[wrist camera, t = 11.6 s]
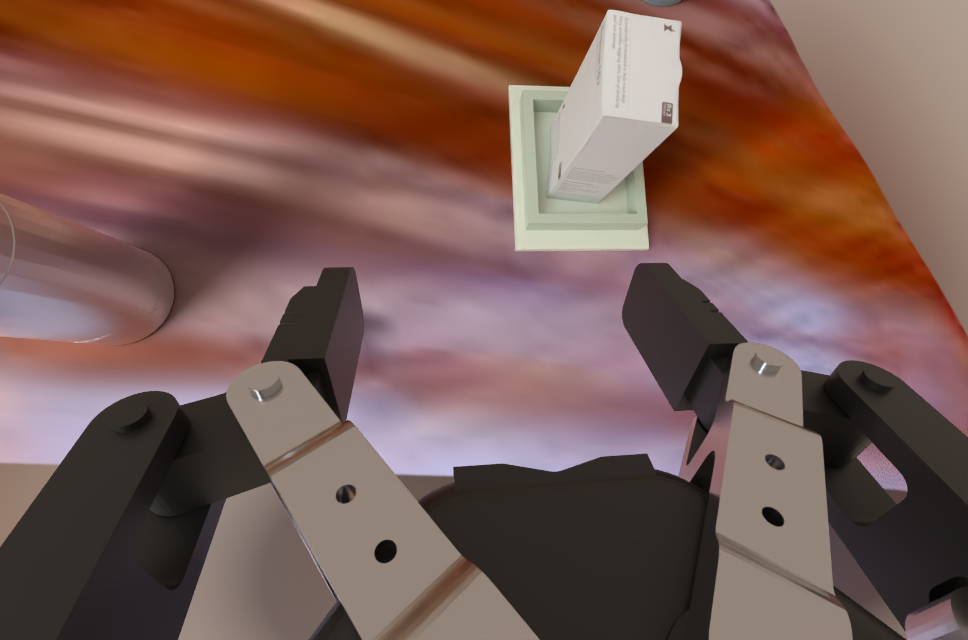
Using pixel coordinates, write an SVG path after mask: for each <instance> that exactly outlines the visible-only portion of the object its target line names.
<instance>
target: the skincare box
mask: <svg viewBox="0 0 968 640" xmlns="http://www.w3.org/2000/svg"><path fill="white" fill-rule="evenodd" d="M681 29H682V23H681V21H676V20H668V19H663V18H657V17H650V16H643V15H637V14H632V13H627V12H623V11H617V10H608V11H607V14H606V16H605V18H604V20H603V22H602V24H601V26H600V28H599V30H598V32H597V34H596V36H595V38H594V40H593V42H592V45H591V47H590V49H589V51H588V53H587V55H586V57H585V59H584V61H583V63H582V65H581V67H580V69H579V71H578V73H577V75H576V77H575V79H574V81H573V83H572V85H571V87H570V89H569V91H568V93H567V95H566V97H565V99H564V101H563V103H562V105H561V107H560V109H559V111H558V113H557V115H556V117H555V119H554V121H553V123H552V125H551V128H550V137H551V140H550V164H549V176H548V186H547V194H546V197H547V198H553V199H561V200H570V201H578V202H586V203H595V204H598V203H599V202H600V201H601V200H602V199H603V198H604V197H606V196H607V195H608V194H609V193H610V192H611V191H612V190H613V189H614V188H615V187H616V186H617V185H618V184H619V183H620V182H621V181H622V180H623V179H624V178H625V177H626V176H627V175H628V174H629V173H630V172H632V171H633V170H634V169H635V168H636V167H637V166H638V165H639V164H640V163H641V162H642V161H643V160H644V159H645V158H646V157H647V156H648V155H649V154H650V153H651V152H652V151H653V150H654V149H656V148H657V147H658V146H659V145H660V144H661V143H662V142H663V141H664V140H665V139H666V138H667V137H668V136H669V135H670V134H671V133H672V132H673V131H674V130H676V129H677V128H678V126H679V123H678V101H679V85H680V82H681V79H682V65H681V62H680V58H679V55H680V37H681Z"/></svg>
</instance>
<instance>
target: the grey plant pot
mask: <svg viewBox="0 0 968 640" xmlns="http://www.w3.org/2000/svg"><path fill="white" fill-rule="evenodd" d="M642 1H644V2H646V3H648V4H650V5H653V6H661V7H665V6H667V7H669V6H671V5H675V4H676V3H679V2H680V1H682V0H642Z"/></svg>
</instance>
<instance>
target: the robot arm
mask: <svg viewBox="0 0 968 640" xmlns="http://www.w3.org/2000/svg"><path fill="white" fill-rule="evenodd" d="M173 299H174V284H173V280H172V277H171V274H170V272H169V271H168V269H167V267H166V266H165V265H164V264H163V263H162V261H161V260H160V259H159V258H157V257H156V256H154V255H153V254H151V253H149V252H147V251H144V250H142V249H139V248H137V247H134V246H132V245H129V244H127V243H124V242H122V241H119V240H117V239H115V238H112V237H110V236H107V235H105V234H102V233H100V232H97V231H95V230H92V229H90V228H87V227H85V226H82V225H80V224H77V223H74V222H72V221H69V220H67V219H64V218H62V217H59V216H57V215H54V214H52V213H49V212H47V211H44V210H42V209H39V208H37V207H34V206H32V205H29V204H26V203H24V202H21V201H19V200H16V199H14V198H11V197H9V196H6V195H4V194H1V193H0V336H3V337H16V338H29V339H42V340H54V341H67V342H78V343H91V344H104V345H124V344H129V343H134V342H136V341H139V340H141V339H143V338H145V337H147V336H148V335H150V334H151V333H153V332H154V331H155V330H156V329H157V328H158V327H159V326H160V325H161V324H162V323H163V322H164V320H165V319H166V318H167V316H168V315H169V312H170V310H171V307H172V305H173ZM718 311H719V310H718V309H717V308H716V307H715V306H714V304H713V303H710V300H709V299H708V298H707V297H706V296H705V295H704V294H703V293H702V291H701V290H700V289H698V288H697V287H695V286H693V285H692V284H690V283H689V282H687V281H685V280H684V279H681V277H680V276H679V275H678V274H677V273H676V272H675V271H674V270H673V269H672V267H671V266H670V265H669V264H667V263H641V264H639V265H638V266H637V267H636V269H635V271H634V274H633V277H632V280H631V283H630V286H629V289H628V293H627V296H626V299H625V302H624V305H623V310H622V319H623V324H624V326H625V328H626V330H627V332H628V333H629V335H630V337H631V339H632V340H633V342H634V344H635V345H636V347H637V349H638V350H639V352H640V354H641V356H642V357H643V359H644V361H645V362H646V364H647V366H648V367H649V369H650V371H651V373H652V374H653V376H654V378H655V379H656V381H657V383H658V384H659V386H660V388H661V389H662V391H663V393H664V395H665V396H666V398H667V400H668V401H669V403H670V405H671V406H672V408H673V410H674V411H685V410H694V412H695V413H696V416H695V418H694V420H693V421H692V424H691V427H690V431H689V435H688V440H687V444H686V448H685V452H684V456H683V460H682V464H681V468H680V472H679V476H675V475H673V474H670V473H667V472H663V471H660V470H655V469H654V467H653V465H652V463H651V461H650V459H649V457H648V455H647V454H636V455H621V456H607V457H600V458H597V459H594V460H591V461H588V462H585V463H582V464H579V465H576V466H574V467H571V468H568V469H565V470H562V471H558V472H550V471H544V470H538V469H532V468H526V467H520V466H514V465H508V464H491V465H477V466H462V467H453V470H454V482H453V483H450V484H447V485H445V486H442V487H440V488H438V489H436V490H434V491H432V492H430V493H429V494H427V495H425V496H424V497H422V498H421V499H420V500H418V501H416V499H415V498H414V497H413V496H412V494H411V493H410V492H409V491H408V489H407V488H406V487H405V486H404V485H403V483H402V482H401V481H400V480H399V478H398V477H397V476H396V475H395V474H394V472H393V471H392V470H391V469H390V467H389V466H388V465H387V464H386V463H385V461H384V460H383V459H382V458H381V456H380V455H379V454H378V453H377V452H376V450H375V449H374V448H373V447H372V445H371V444H370V443H369V442H368V440H367V439H366V438H365V437H364V436H363V434H362V433H361V432H360V431H359V429H358V428H357V427H356V426H355V425H354V424H353V423H352V422H351V421H349V420H347V421H346V418H347V413H348V408H349V403H350V398H351V393H352V388H353V383H354V378H355V373H356V368H357V363H358V358H359V353H360V348H361V343H362V338H363V332H364V319H363V311H362V305H361V300H360V294H359V288H358V283H357V277H356V273H355V270H354V268H353V267H339V268H324V269H323V271H322V273H321V276H320V278H319V281H318V283H317V286H307V287H303V288H302V289H301V290H300V291H299V292H298V293H296V294H295V295H294V296H293V297H292V298H291V299H290V301H289V304H288V306H287V308H286V310H285V314H283V317H282V319H281V321H280V325H278V327H277V330H276V332H275V334H274V336H273V338H272V340H271V342H270V345H269V347H268V349H267V351H266V353H265V355H264V358H263V360H262V362H261V364H258V365H255V366H253V367H251V368H249V369H247V370H245V371H244V372H242V373H241V374H239V375H238V376H237V377H236V378H235V379H234V380H233V381H232V383H231V384H230V385H229V387H228V390H227V392H226V393H224V394H220V395H217V396H214V397H210V398H206V399H203V400H199V401H195V402H192V403H188V404H184V405H181V406H180V405H179V403H178V402H177V400H176V399H175V398H174V397H173V396H172V395H171V394H169V393H166V392H161V391H149V392H142V393H138V394H135V395H132V396H129V397H126V398H124V399H121V400H119V401H117V402H116V403H114V404H112V405H110V406H109V407H107V408H106V409H104V410H103V411H102V412H100V413H99V414H98V415H97V416H96V417H95V418H94V419H93V420H92V421H91V422H90V424H89V425H88V426H87V428H86V429H85V430H84V432H83V433H82V435H81V436H80V437H79V439H78V440H77V442H76V443H75V444H74V446H73V447H72V449H71V450H70V451H69V453H68V454H67V455H66V457H65V458H64V460H63V461H62V462H61V464H60V465H59V467H58V468H57V469H56V471H55V472H54V473H53V475H52V476H51V478H50V479H49V481H48V482H47V483H46V485H45V486H44V487H43V489H42V490H41V492H40V493H39V494H38V496H37V497H36V499H35V500H34V501H33V503H32V504H31V505H30V507H29V508H28V510H27V511H26V512H25V514H24V515H23V516H22V518H21V519H20V521H19V522H18V523H17V525H16V526H15V528H14V529H13V530H12V532H11V533H10V534H9V536H8V537H7V539H6V540H5V541H4V543H3V544H2V546H1V547H0V640H178V638H179V635H180V632H181V629H182V626H183V623H184V620H185V617H186V614H187V611H188V609H189V606H190V603H191V600H192V597H193V594H194V591H195V588H196V585H197V582H198V579H199V576H200V574H201V571H202V568H203V565H204V562H205V559H206V556H207V553H208V550H209V547H210V544H211V541H212V538H213V535H214V532H215V530H216V527H217V524H218V521H219V518H220V515H221V512H222V509H223V506H224V503H225V500H226V498H228V497H231V496H234V495H237V494H240V493H242V492H245V491H248V490H251V489H254V488H256V487H259V486H262V485H265V484H267V483H271V484H272V486H273V488H274V490H275V492H276V493H277V495H278V497H279V499H280V501H281V502H282V504H283V506H284V508H285V510H286V511H287V513H288V515H289V516H290V518H291V520H292V522H293V524H294V526H295V527H296V529H297V531H298V533H299V535H300V536H301V538H302V540H303V542H304V543H305V545H306V547H307V549H308V551H309V553H310V554H311V556H312V558H313V560H314V562H315V564H316V565H317V567H318V569H319V571H320V573H321V575H322V576H323V578H324V580H325V582H326V584H327V585H328V587H329V589H330V591H331V592H332V594H333V596H334V598H335V600H336V601H337V602H336V604H335V605H334V606H333V607H332V609H331V610H330V611H329V613H328V614H327V616H326V617H325V618H324V619H323V621H322V622H321V624H320V625H319V626H318V627H317V629H316V630H315V631H314V633H313V634H312V635H311V637H310V638H309V640H906V639H905V638H903V637H902V636H901V635H899V634H898V633H897V632H895V631H894V630H893V629H891V628H890V627H888V626H887V625H886V624H885V623H883V622H882V621H880V620H879V619H878V618H876V617H875V616H874V615H872V614H871V613H870V612H868V611H867V610H866V609H864V608H863V607H862V606H860V605H859V604H858V603H856V602H855V601H853V600H852V599H851V598H849V597H848V596H847V595H845V594H844V593H843V592H841V591H840V590H838V589H837V588H836V587H835V586H833V581H832V567H831V553H830V540H829V526H828V522H829V523H830V525H831V526H832V527H833V529H834V530H835V532H836V533H837V535H838V536H839V537H840V539H841V540H842V542H843V543H844V544H845V546H846V547H847V549H848V550H849V552H850V553H851V554H852V556H853V557H854V559H855V560H856V562H857V563H858V565H859V566H860V567H861V569H862V570H863V571H864V573H865V575H866V576H867V577H868V579H869V580H870V582H871V583H872V585H873V586H874V587H875V589H876V590H877V591H878V593H879V595H880V596H881V597H882V599H883V600H884V601H885V603H886V604H887V606H888V607H889V609H890V610H891V612H892V613H893V614H894V616H895V617H896V619H897V620H898V621H899V623H900V624H901V626H902V627H903V629H904V630H905V632H906V635H907V638H908V640H968V437H967V436H966V435H964V434H963V433H962V432H961V431H960V430H959V429H958V428H956V427H955V426H954V425H953V424H952V423H951V422H949V421H948V420H947V419H946V418H945V417H944V416H943V415H941V414H940V413H939V412H938V411H937V410H936V409H934V408H933V407H932V406H931V405H930V404H929V403H928V402H926V401H925V400H924V399H923V398H922V397H921V396H920V395H918V394H917V393H916V392H915V391H914V390H913V389H911V388H910V387H909V386H908V385H907V384H906V383H905V382H903V381H902V380H901V379H899V378H898V377H896V376H895V375H893V374H892V373H890V372H888V371H886V370H884V369H882V368H880V367H877V366H875V365H872V364H869V363H865V362H860V361H844V362H842V363H840V364H839V365H838V367H837V368H836V369H835V370H834V371H833V373H832V374H831V375H830V376H829V375H824V374H818V373H813V372H807V371H802V370H800V368H799V366H798V365H797V364H796V363H795V362H794V361H793V360H792V359H791V358H790V357H789V356H787V355H786V354H784V353H783V352H781V351H779V350H777V349H775V348H773V347H770V346H767V345H764V344H760V343H753V342H748V341H747V340H746V339H745V338H744V337H743V336H742V335H741V334H740V333H739V332H738V331H737V329H736V328H735V327H734V326H733V325H732V324H731V323H730V322H729V321H728V320H727V319H726V317H725V316H724V315H723V314H722V313H719V312H718ZM872 442H873V444H874V445H875V446H876V447H877V448H878V449H879V450H880V451H881V452H882V453H883V454H884V455H885V457H886V458H887V459H888V460H889V461H890V462H891V463H892V464H893V465H894V466H895V467H896V468H897V470H898V471H899V472H900V473H901V474H902V475H903V477H904V479H905V481H906V483H907V487H908V493H907V496H906V498H905V499H904V500H903V501H902V502H900V503H899V504H896V503H895V502H894V501H893V500H892V498H891V497H890V496H889V495H888V494H887V493H886V491H885V490H884V489H883V488H882V487H881V486H880V484H879V483H878V482H877V481H876V480H875V479H874V477H873V476H872V475H871V474H870V473H869V472H868V470H867V469H866V468H865V467H864V466H863V465H862V464H861V462H860V461H859V460H858V459H857V458H856V457H857V456H858V455H859V454H860V453H861V452H862V451H863V450H864V449H866V448H867V447H868V446H869V445H870V444H871V443H872Z"/></svg>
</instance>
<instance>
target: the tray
mask: <svg viewBox="0 0 968 640" xmlns="http://www.w3.org/2000/svg"><path fill="white" fill-rule="evenodd" d="M569 89H570V87H554V86H522V85H509V88H508V95H509V118H510V141H511V164H512V187H513V210H514V233H515V251H646V250H648V249H649V240H648V228H647V224H648V219H647V207H646V196H645V184H644V172H643V161H642V162H641V163H640V164H639V165H638V166H637V167H636V168H635V169H634V170H633V171H632V172H630V173H629V174H628V175H627V176H626V177H625V178H624V179H623V180H622V181H621V182H620V183H619V184H618V185H617V186H616V187H615V188H614V189H613V190H612V191H611V192H610V193H609V194H608V195H607V196H606V197H604V198H603V199H602V200H601V201H600V202H599V203H598V204H595V203H586V202H578V201H570V200H561V199H553V198H547V197H546V194H547V186H548V176H549V164H550V140H551V137H550V128H551V125H552V123H553V121H554V119H555V117H556V115H557V113H558V111H559V109H560V107H561V105H562V103H563V101H564V99H565V97H566V95H567V93H568V91H569Z"/></svg>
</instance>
